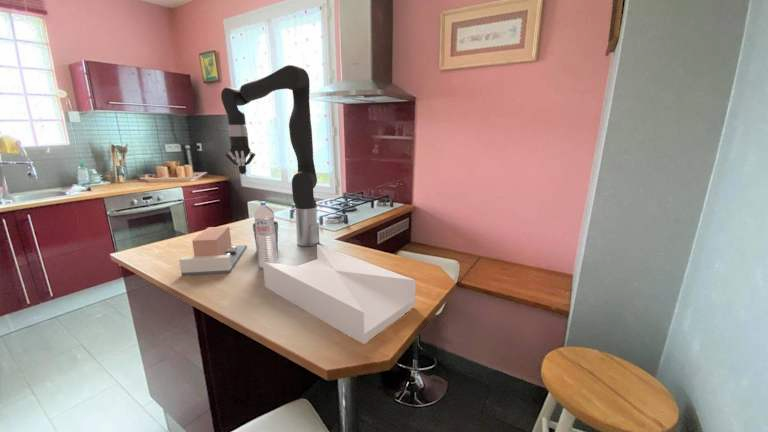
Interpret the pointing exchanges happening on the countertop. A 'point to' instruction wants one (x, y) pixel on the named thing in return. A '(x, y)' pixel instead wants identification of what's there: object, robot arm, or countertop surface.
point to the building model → (344, 292)
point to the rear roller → (231, 249)
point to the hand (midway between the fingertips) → (243, 173)
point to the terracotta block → (212, 241)
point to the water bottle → (265, 235)
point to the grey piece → (210, 263)
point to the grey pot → (275, 233)
